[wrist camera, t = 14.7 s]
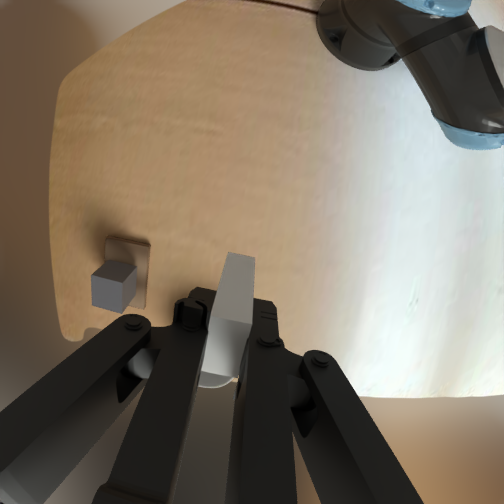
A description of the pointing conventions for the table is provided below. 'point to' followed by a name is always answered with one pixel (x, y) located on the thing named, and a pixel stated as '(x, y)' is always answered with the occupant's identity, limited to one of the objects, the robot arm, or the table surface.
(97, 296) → the grey upright block
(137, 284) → the stand
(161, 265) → the table surface
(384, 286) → the table surface
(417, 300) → the table surface
